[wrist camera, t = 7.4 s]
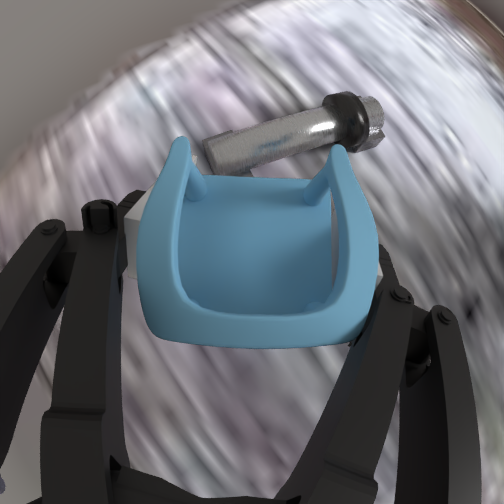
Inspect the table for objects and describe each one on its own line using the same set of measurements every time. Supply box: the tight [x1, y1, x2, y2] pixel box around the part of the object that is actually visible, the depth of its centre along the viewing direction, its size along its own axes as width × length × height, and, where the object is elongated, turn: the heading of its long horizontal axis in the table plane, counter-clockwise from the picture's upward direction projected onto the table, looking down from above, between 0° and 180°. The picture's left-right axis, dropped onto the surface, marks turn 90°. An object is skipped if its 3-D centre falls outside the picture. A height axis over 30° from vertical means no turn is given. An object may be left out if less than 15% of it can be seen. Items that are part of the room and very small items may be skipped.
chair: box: [136, 136, 379, 349], centre depth 14 cm, size 8×8×12 cm
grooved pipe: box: [202, 91, 385, 177], centre depth 23 cm, size 14×5×5 cm, turn 112°
